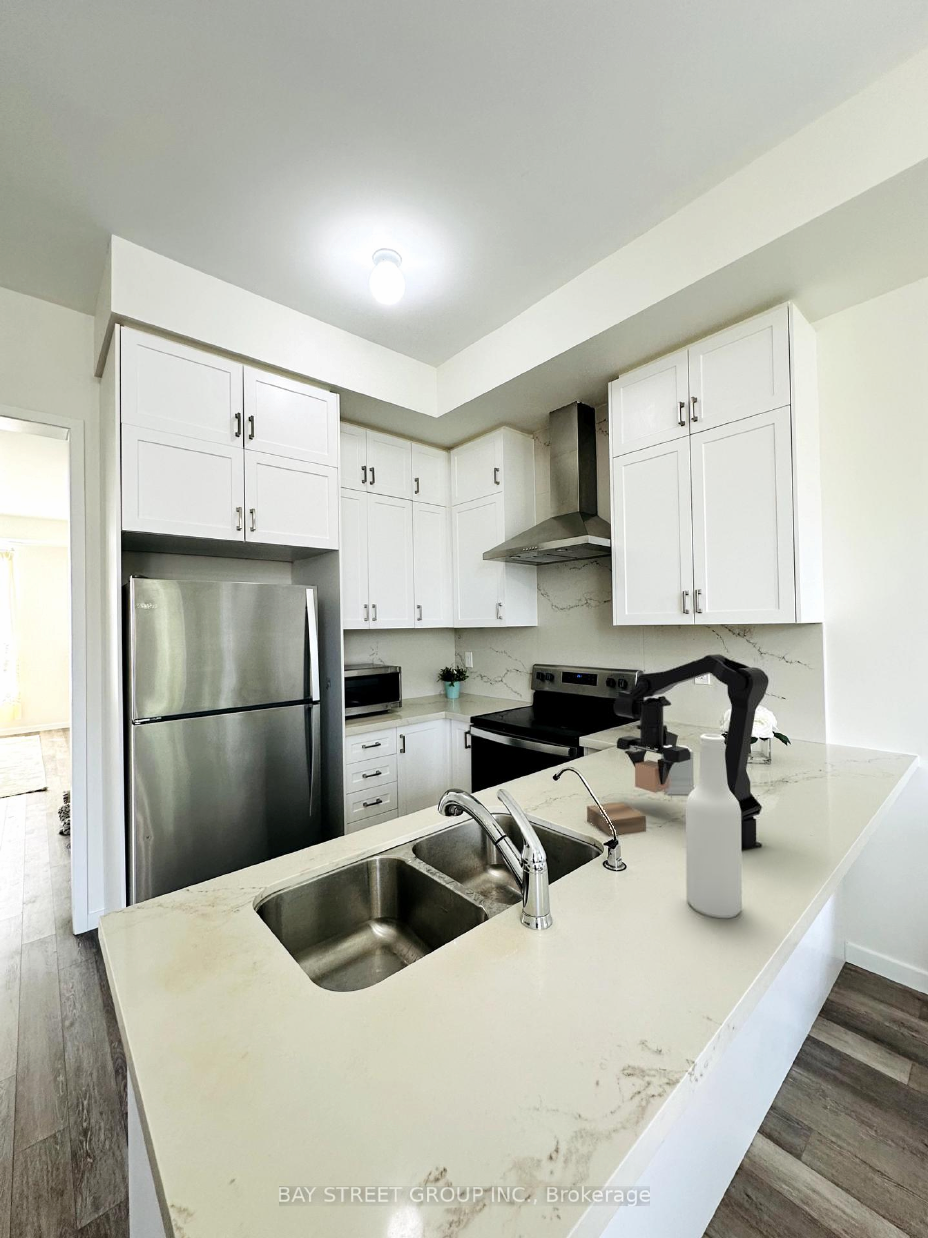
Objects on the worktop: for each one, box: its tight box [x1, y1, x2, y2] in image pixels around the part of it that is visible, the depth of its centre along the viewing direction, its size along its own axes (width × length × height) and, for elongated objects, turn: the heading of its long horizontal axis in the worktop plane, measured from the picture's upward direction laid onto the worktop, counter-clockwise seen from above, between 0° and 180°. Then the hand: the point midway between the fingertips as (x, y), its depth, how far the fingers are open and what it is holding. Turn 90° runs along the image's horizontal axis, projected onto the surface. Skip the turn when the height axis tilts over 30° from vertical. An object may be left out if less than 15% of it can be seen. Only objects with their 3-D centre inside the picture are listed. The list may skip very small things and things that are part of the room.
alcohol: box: [685, 733, 743, 919], centre depth 93 cm, size 9×9×30 cm
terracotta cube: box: [634, 760, 669, 793], centre depth 138 cm, size 6×6×6 cm
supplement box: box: [660, 744, 695, 796], centre depth 155 cm, size 7×7×13 cm
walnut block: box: [586, 801, 647, 837], centre depth 130 cm, size 10×10×4 cm
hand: (652, 781), depth 138 cm, fingers closed on terracotta cube, 6 cm apart
